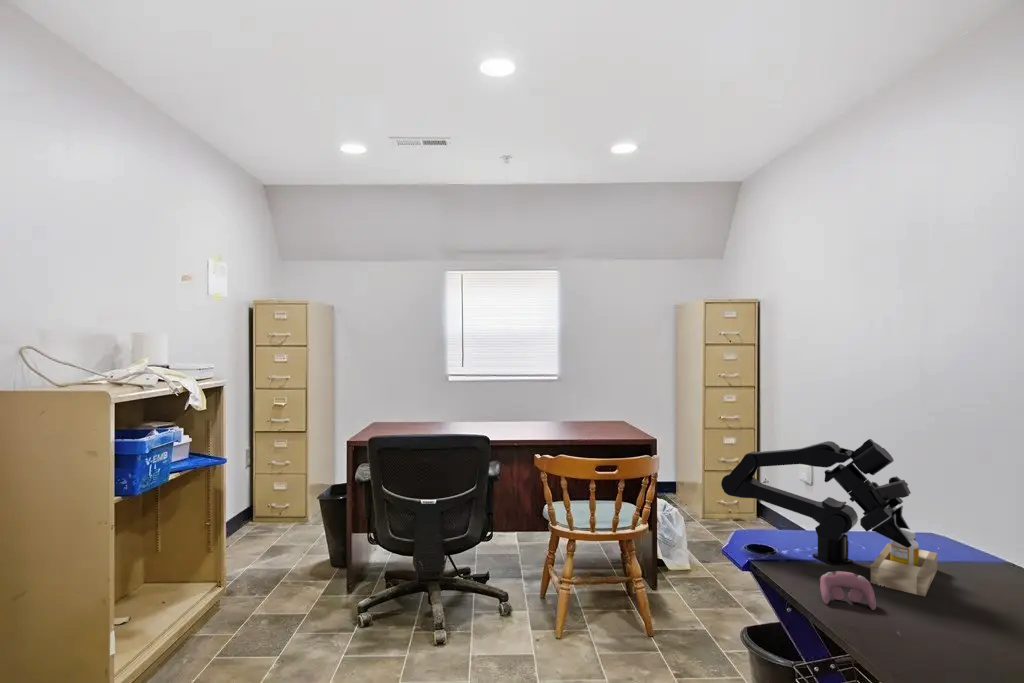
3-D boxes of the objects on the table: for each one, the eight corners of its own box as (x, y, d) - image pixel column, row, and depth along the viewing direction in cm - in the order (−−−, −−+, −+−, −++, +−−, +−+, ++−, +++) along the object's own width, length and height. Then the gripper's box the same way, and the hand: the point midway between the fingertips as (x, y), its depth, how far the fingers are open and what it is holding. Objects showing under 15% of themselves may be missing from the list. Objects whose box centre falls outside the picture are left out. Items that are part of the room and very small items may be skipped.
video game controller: (873, 612, 120) (869, 575, 123) (878, 610, 116) (874, 573, 119) (819, 604, 123) (816, 569, 126) (823, 603, 119) (820, 566, 122)
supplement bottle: (909, 568, 137) (910, 527, 137) (923, 577, 131) (924, 534, 131) (885, 567, 137) (886, 526, 137) (898, 576, 132) (898, 533, 132)
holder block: (870, 583, 130) (870, 565, 130) (887, 559, 145) (887, 543, 145) (925, 596, 123) (925, 577, 123) (937, 569, 138) (937, 553, 138)
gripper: (877, 473, 130) (937, 534, 123) (893, 461, 144) (948, 515, 136) (837, 501, 135) (892, 561, 128) (856, 487, 149) (907, 540, 142)
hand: (911, 543), depth 133 cm, fingers open, 5 cm apart
